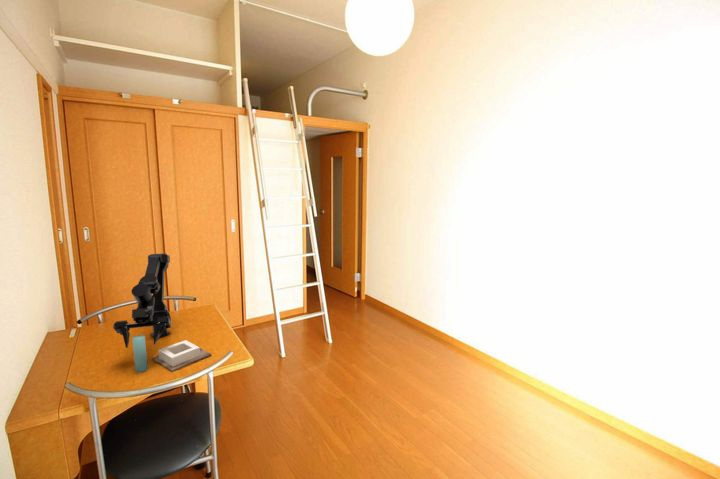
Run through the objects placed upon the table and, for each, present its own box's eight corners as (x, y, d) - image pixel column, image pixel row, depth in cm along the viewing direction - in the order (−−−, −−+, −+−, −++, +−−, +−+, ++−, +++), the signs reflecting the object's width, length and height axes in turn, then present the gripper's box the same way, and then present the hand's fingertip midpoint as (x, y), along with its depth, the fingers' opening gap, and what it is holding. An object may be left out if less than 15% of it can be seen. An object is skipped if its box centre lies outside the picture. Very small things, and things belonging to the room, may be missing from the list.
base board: (152, 359, 141) (152, 357, 141) (191, 344, 154) (191, 343, 154) (172, 372, 132) (171, 370, 132) (211, 355, 145) (211, 353, 145)
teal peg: (133, 370, 133) (130, 337, 131) (145, 365, 136) (142, 334, 134) (138, 373, 131) (134, 340, 129) (149, 369, 134) (146, 337, 132)
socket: (159, 357, 141) (158, 349, 140) (186, 347, 150) (185, 340, 149) (172, 366, 134) (171, 358, 134) (200, 355, 143) (199, 347, 143)
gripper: (112, 301, 133) (104, 341, 124) (167, 296, 139) (163, 334, 130) (120, 314, 142) (114, 352, 133) (172, 309, 148) (169, 345, 139)
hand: (140, 345), depth 134 cm, fingers open, 9 cm apart
